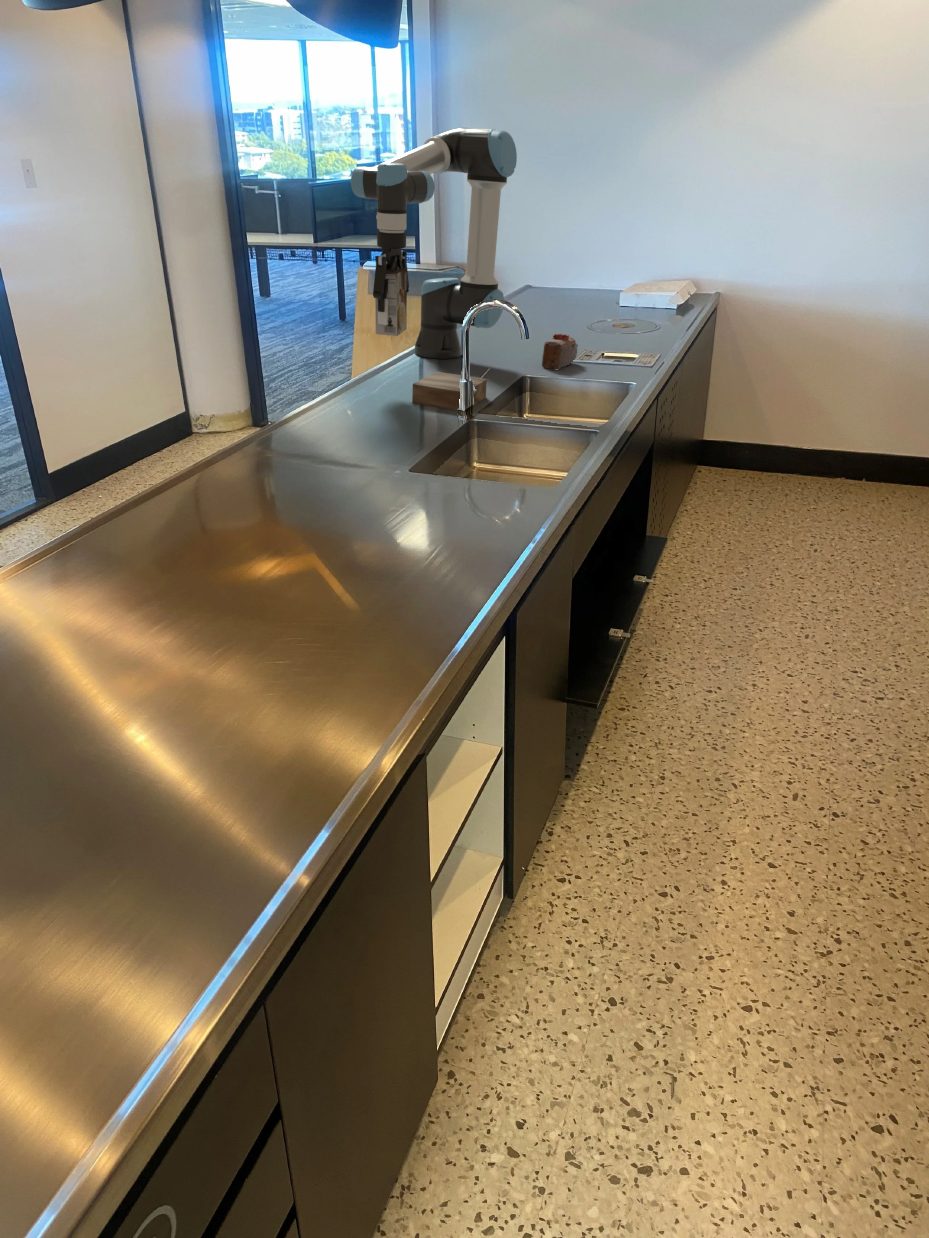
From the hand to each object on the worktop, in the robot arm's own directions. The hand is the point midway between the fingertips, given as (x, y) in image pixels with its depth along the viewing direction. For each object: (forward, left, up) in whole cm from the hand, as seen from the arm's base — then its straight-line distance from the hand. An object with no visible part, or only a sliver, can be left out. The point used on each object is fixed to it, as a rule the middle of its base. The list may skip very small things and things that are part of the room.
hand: (391, 320), depth 238 cm
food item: (-56, +33, -19) cm, 67 cm away
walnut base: (+1, +18, -18) cm, 26 cm away
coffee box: (0, 0, -3) cm, 3 cm away
